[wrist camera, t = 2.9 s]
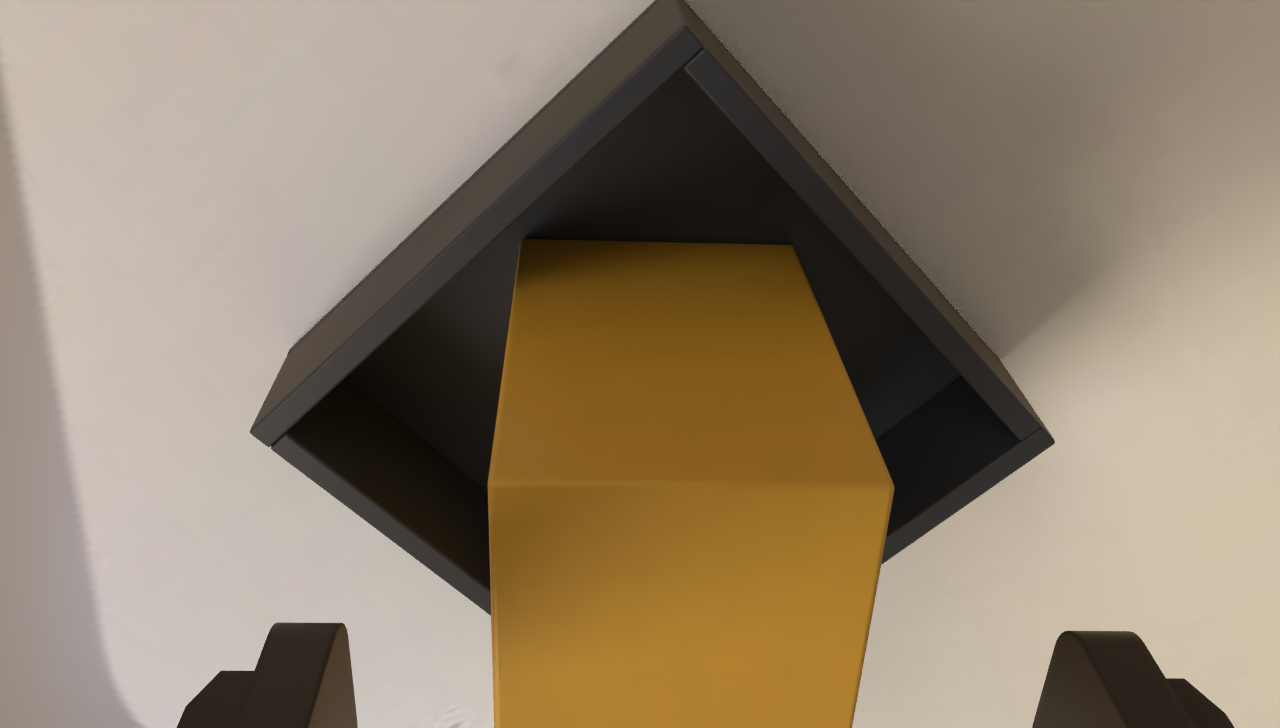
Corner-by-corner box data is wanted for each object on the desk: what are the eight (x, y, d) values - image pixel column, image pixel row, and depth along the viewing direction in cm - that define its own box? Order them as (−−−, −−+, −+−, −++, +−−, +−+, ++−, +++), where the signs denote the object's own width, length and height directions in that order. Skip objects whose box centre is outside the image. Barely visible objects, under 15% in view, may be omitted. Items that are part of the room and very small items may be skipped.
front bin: (289, 349, 19) (248, 433, 17) (671, -16, 17) (684, 23, 14) (637, 629, 23) (643, 732, 20) (1001, 361, 20) (1057, 443, 18)
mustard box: (522, 468, 20) (494, 776, 14) (520, 236, 18) (486, 481, 12) (768, 471, 21) (846, 774, 15) (794, 243, 19) (898, 485, 12)
